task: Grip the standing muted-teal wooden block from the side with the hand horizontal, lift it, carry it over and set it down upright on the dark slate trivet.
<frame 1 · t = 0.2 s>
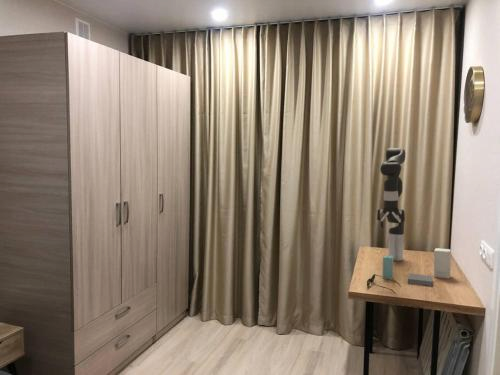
hand: (390, 228, 223), 29 cm above the table, tool pointing down, fingers open, 8 cm apart
slate trivet: (420, 281, 221), on the table
skincare box: (441, 276, 230), on the table
sunglasses: (384, 288, 213), on the table
teal block: (387, 277, 229), on the table
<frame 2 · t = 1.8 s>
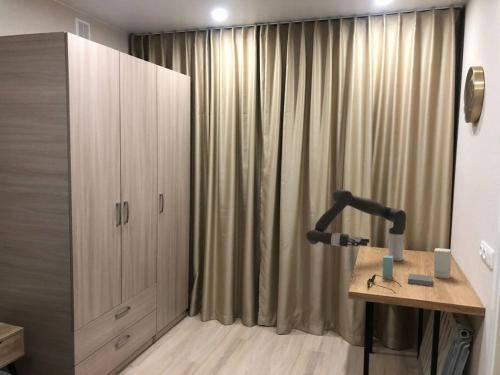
hand: (368, 242, 233), 19 cm above the table, tool horizontal, fingers open, 8 cm apart
nothing on the table moved.
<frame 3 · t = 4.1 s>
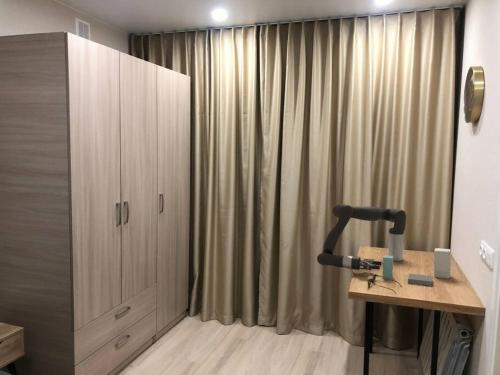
hand: (380, 265, 230), 6 cm above the table, tool horizontal, fingers open, 8 cm apart
nothing on the table moved.
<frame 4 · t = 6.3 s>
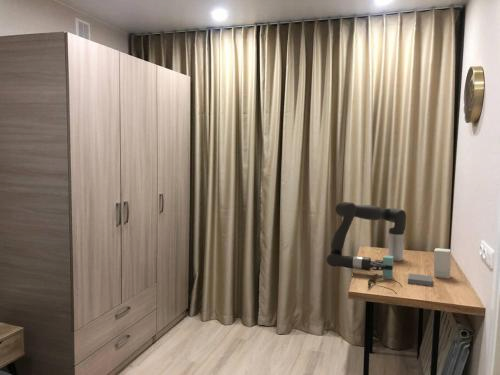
hand: (392, 266, 227), 7 cm above the table, tool horizontal, fingers closed on teal block, 5 cm apart
teal block: (387, 277, 229), on the table, touching gripper
everything else where it was.
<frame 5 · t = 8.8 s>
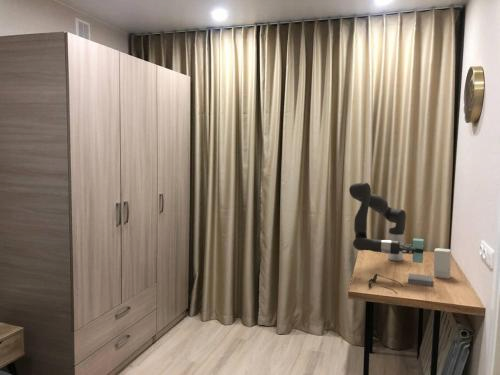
hand: (423, 250, 219), 18 cm above the table, tool horizontal, fingers closed on teal block, 5 cm apart
teal block: (417, 261, 221), point 11 cm above the table, touching gripper
everything else where it was.
when the fingers open (10 cm above the table, at t = 11.2 s): teal block drops 1 cm, resting on slate trivet.
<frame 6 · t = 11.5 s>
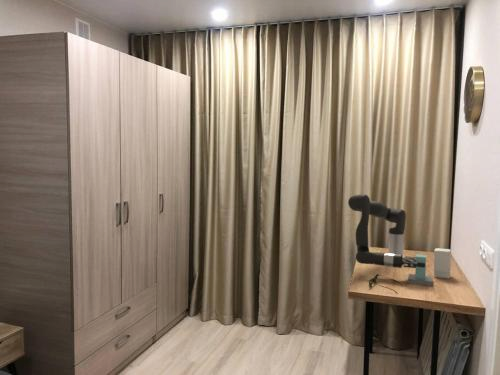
hand: (425, 263, 219), 10 cm above the table, tool horizontal, fingers open, 7 cm apart
teal block: (420, 277, 221), point 2 cm above the table, touching slate trivet
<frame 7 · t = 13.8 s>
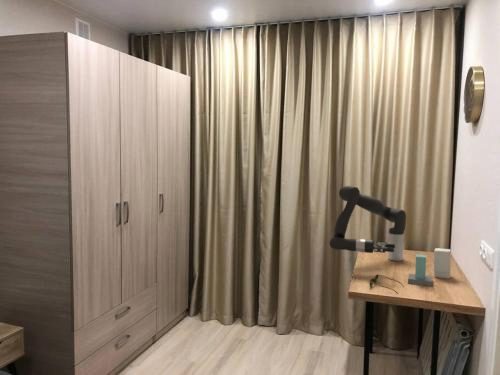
hand: (394, 248, 229), 16 cm above the table, tool horizontal, fingers open, 8 cm apart
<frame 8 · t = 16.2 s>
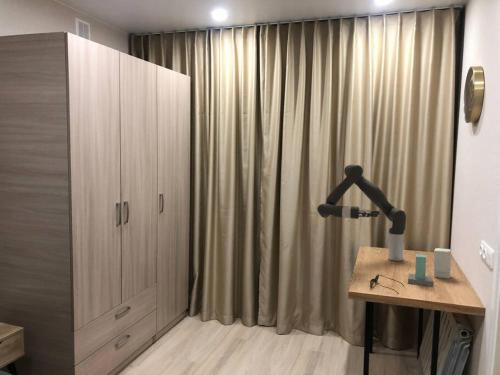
hand: (378, 214, 239), 34 cm above the table, tool horizontal, fingers open, 8 cm apart
at the end: teal block inside the target area on the slate trivet (0.0 cm from its centre), point 2.5 cm above the slate trivet's base; teal block tilted 0°; the gripper is holding nothing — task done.
